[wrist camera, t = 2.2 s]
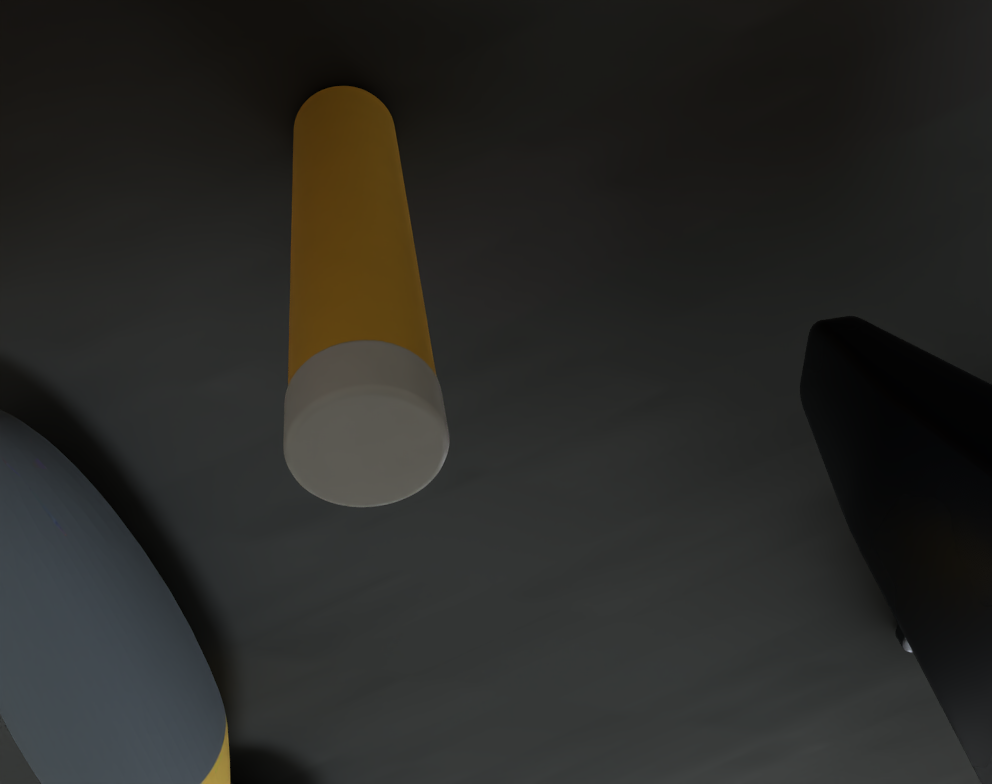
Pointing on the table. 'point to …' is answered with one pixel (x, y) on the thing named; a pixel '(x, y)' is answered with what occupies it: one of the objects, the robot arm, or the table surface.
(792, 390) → the table surface
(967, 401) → the robot arm
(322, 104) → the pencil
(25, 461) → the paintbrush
